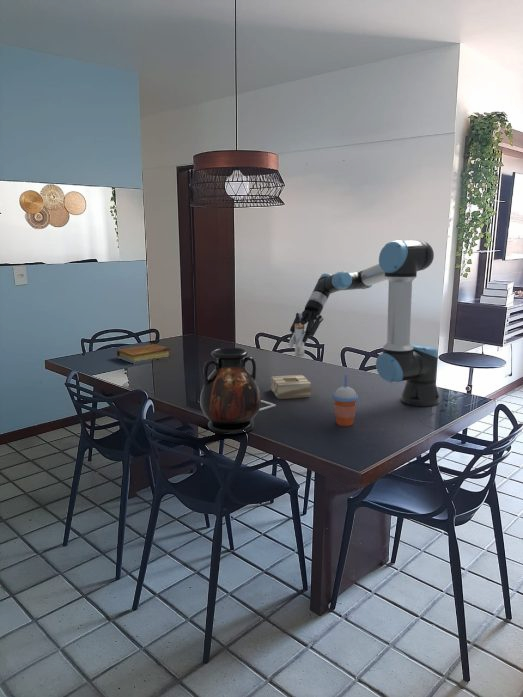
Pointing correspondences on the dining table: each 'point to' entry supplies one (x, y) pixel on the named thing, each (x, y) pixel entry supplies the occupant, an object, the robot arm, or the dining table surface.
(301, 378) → the socket block
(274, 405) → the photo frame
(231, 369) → the amphora vase
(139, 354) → the diary
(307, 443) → the dining table surface
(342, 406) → the cup with straw
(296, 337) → the peg
